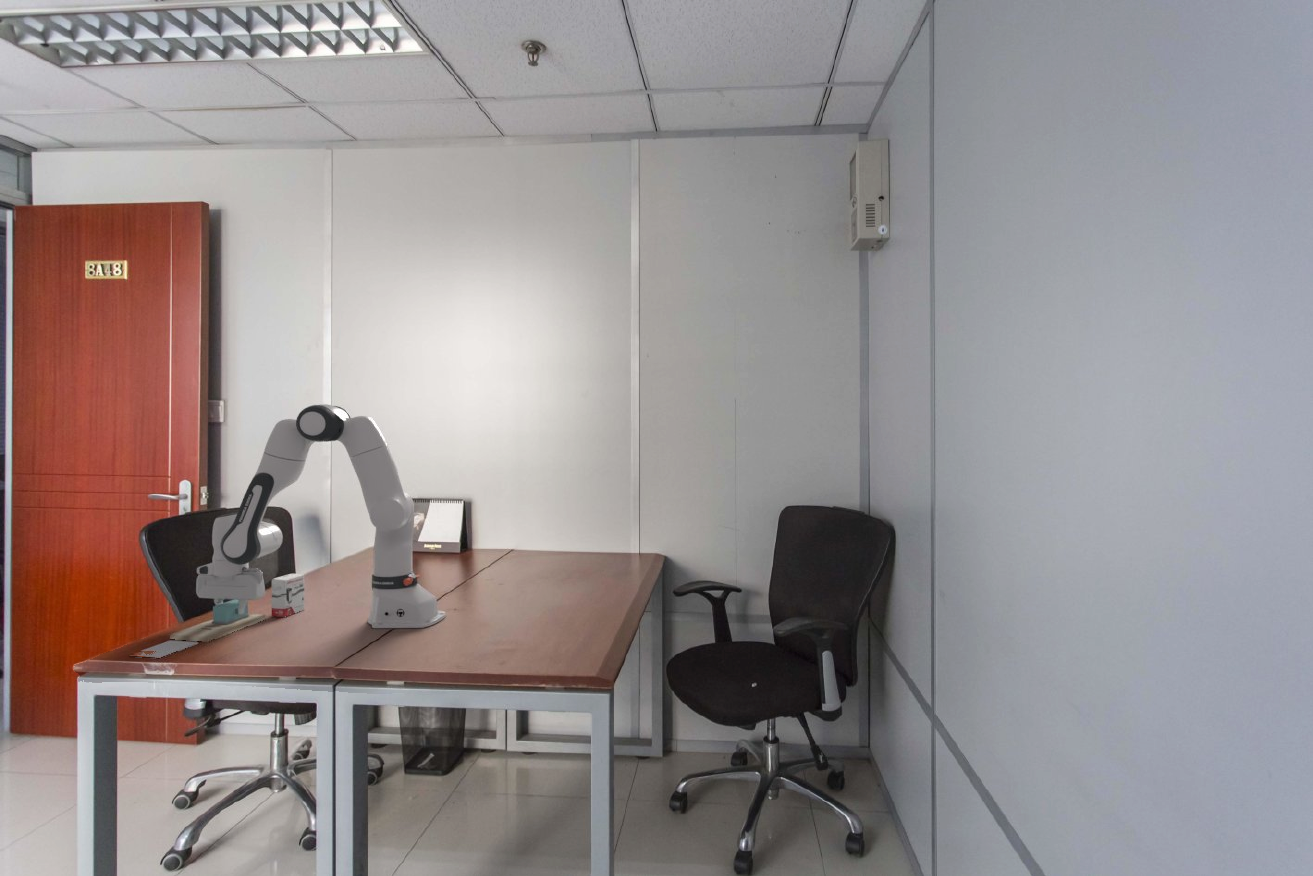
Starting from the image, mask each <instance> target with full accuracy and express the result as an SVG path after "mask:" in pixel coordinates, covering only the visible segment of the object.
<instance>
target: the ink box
mask: <svg viewBox="0 0 1313 876" xmlns="http://www.w3.org/2000/svg"><path fill="white" fill-rule="evenodd" d="M305 576H306V575H305V574H300V573H289V574H285V575H282V576H278V577H274V578H272V579H271V617H272V616H276V617H275V618H286V617H285V616H287V617H289V616H288V615H290V614H292V615H295V614H298V613H300V612H299V611H301V612H303V611H305V583H306V582H305V578H306V577H305ZM302 610H303V611H302ZM297 612H298V613H297ZM294 613H295V614H294ZM290 616H291V615H290Z"/></svg>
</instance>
